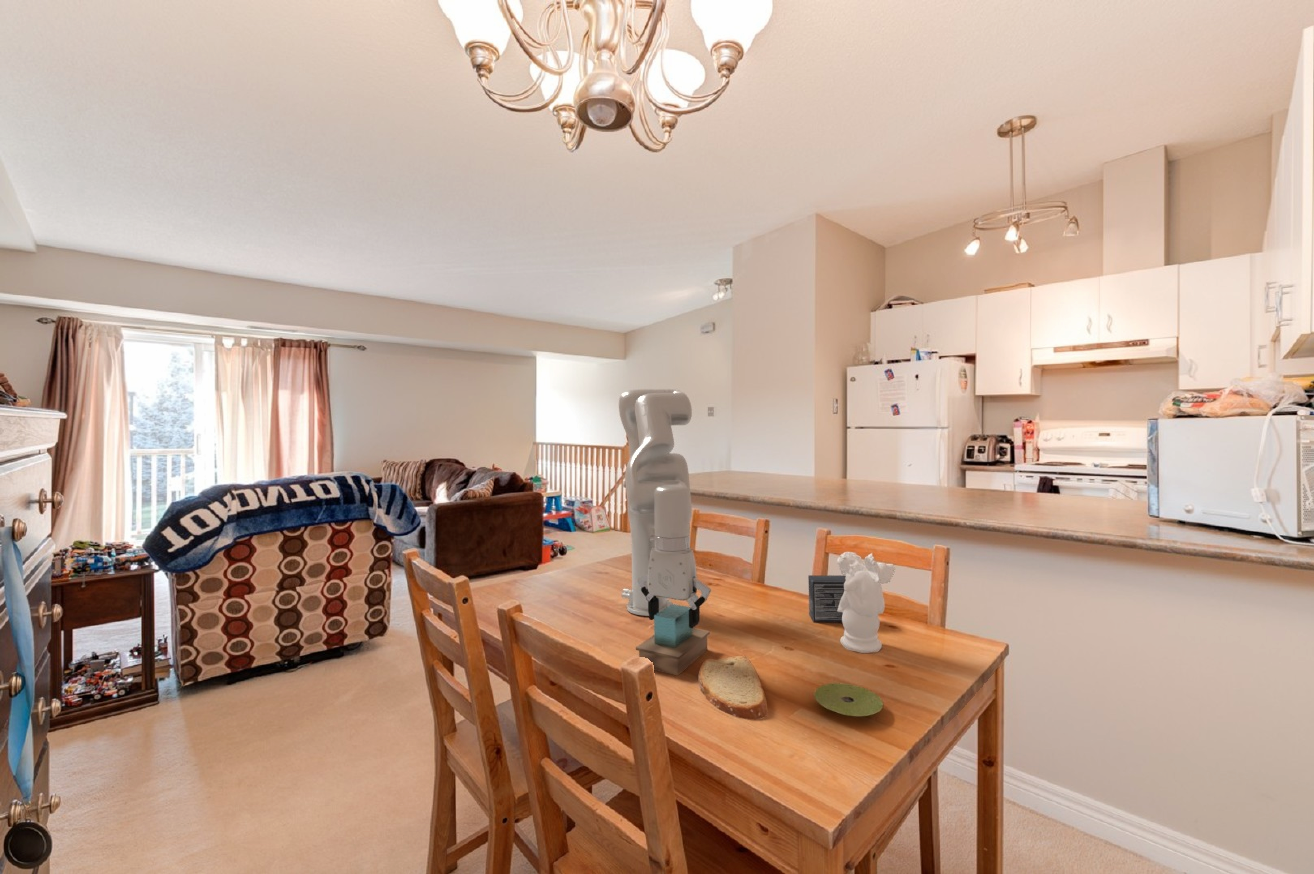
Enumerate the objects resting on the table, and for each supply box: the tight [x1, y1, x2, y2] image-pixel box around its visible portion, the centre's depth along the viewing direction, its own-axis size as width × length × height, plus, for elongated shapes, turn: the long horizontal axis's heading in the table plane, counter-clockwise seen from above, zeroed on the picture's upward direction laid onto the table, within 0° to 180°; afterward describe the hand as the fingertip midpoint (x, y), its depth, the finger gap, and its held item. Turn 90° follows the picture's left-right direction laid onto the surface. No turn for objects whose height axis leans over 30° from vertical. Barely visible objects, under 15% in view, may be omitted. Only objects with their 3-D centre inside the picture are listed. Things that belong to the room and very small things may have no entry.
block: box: [653, 603, 693, 648], centre depth 115 cm, size 5×8×6 cm, turn 150°
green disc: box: [814, 682, 884, 717], centre depth 93 cm, size 11×11×2 cm
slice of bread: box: [697, 654, 769, 720], centre depth 102 cm, size 18×18×4 cm
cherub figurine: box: [836, 551, 896, 654], centre depth 120 cm, size 12×12×22 cm
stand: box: [635, 627, 711, 676], centre depth 115 cm, size 10×15×4 cm, turn 150°
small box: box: [807, 574, 846, 624], centre depth 137 cm, size 11×6×10 cm, turn 84°
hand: (673, 621), depth 115 cm, fingers open, 9 cm apart
